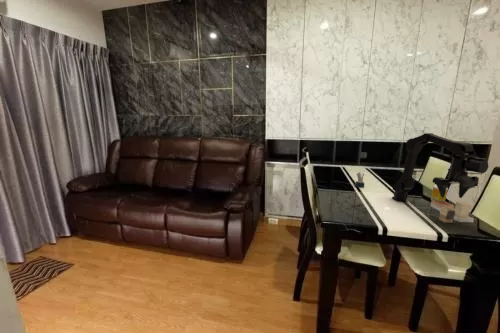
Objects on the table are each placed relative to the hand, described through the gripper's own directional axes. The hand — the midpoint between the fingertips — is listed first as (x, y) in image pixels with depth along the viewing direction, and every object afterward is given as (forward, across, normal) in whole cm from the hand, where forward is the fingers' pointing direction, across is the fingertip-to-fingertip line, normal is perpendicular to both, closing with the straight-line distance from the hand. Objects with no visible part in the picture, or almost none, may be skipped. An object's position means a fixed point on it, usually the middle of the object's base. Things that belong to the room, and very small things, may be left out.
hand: (451, 197), depth 121 cm
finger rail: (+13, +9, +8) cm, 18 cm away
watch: (+12, -22, +53) cm, 59 cm away
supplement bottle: (+13, +17, +27) cm, 34 cm away
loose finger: (+13, -1, 0) cm, 13 cm away
